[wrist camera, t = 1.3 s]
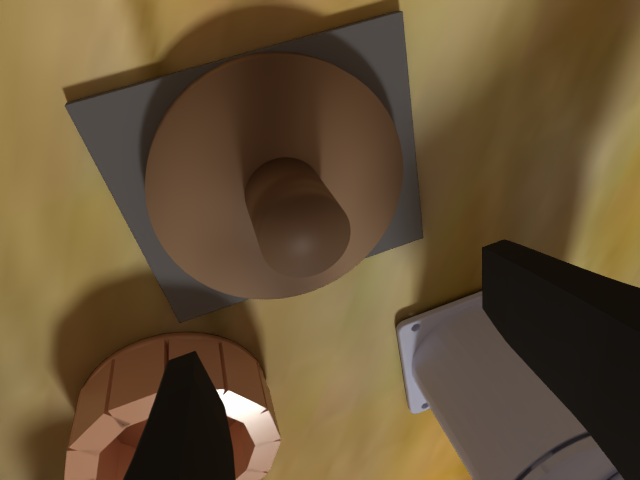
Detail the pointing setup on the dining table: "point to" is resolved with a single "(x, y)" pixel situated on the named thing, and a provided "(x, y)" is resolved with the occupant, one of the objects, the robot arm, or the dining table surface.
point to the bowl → (139, 394)
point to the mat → (159, 93)
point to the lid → (273, 175)
